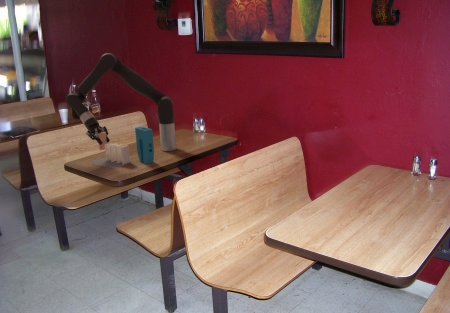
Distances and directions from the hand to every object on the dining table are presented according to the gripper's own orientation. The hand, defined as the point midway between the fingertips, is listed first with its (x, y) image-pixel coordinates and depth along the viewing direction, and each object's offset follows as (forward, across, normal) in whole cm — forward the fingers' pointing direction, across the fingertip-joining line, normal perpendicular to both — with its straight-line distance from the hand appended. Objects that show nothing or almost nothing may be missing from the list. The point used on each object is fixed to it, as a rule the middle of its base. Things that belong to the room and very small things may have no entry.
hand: (105, 142), depth 272 cm
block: (+25, +8, -10) cm, 28 cm away
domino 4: (+19, 0, -4) cm, 19 cm away
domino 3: (+15, 0, -1) cm, 15 cm away
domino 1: (+9, 0, +5) cm, 10 cm away
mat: (+12, -3, +3) cm, 13 cm away
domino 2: (+12, 0, +2) cm, 12 cm away
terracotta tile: (+2, 0, +4) cm, 5 cm away
